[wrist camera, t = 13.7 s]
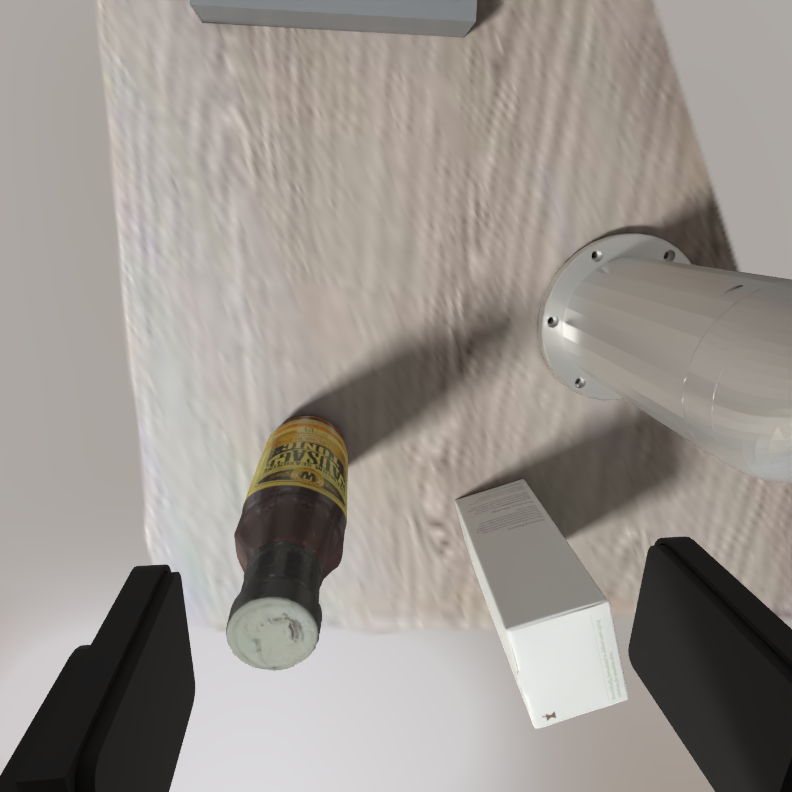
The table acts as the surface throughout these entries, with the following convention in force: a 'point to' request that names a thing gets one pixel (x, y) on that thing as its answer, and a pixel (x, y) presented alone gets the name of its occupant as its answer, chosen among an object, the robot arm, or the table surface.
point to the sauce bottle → (289, 543)
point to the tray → (346, 15)
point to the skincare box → (542, 605)
